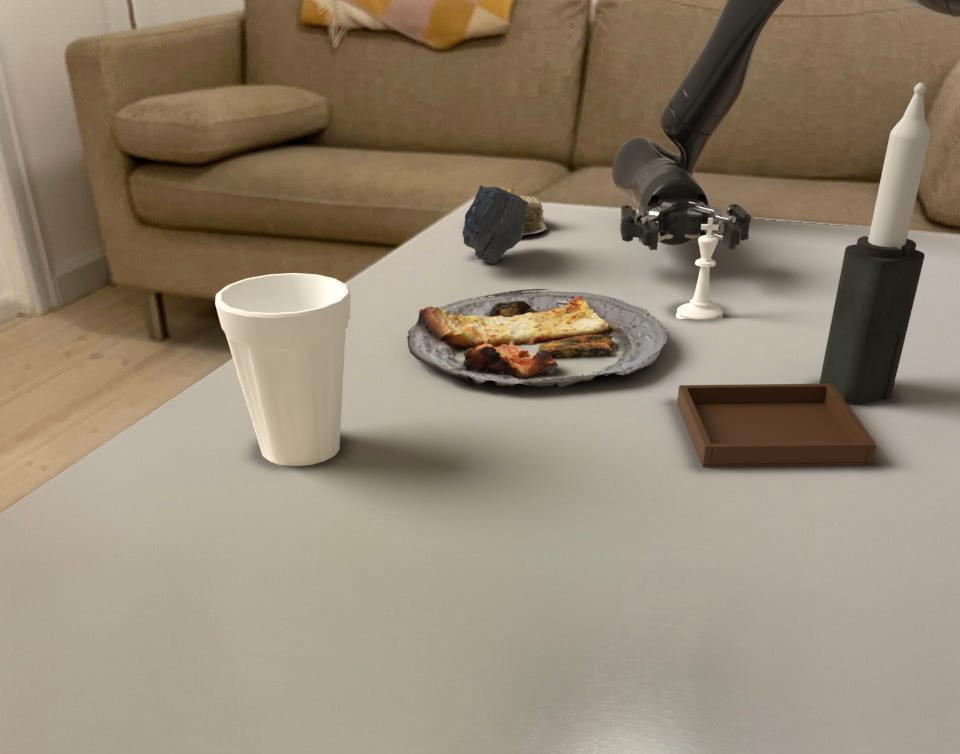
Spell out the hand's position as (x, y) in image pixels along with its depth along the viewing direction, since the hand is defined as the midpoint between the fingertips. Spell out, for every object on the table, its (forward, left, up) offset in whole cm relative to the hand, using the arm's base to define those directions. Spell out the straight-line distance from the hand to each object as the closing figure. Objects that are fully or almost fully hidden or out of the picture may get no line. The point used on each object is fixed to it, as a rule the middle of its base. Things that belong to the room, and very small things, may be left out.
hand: (694, 240), depth 113 cm
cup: (+38, +39, -6) cm, 55 cm away
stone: (+21, -13, -6) cm, 25 cm away
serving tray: (0, +37, -6) cm, 38 cm away
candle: (-10, +29, -6) cm, 31 cm away
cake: (+19, -28, -6) cm, 34 cm away
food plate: (+18, +17, -6) cm, 26 cm away
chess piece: (0, +7, -6) cm, 10 cm away
